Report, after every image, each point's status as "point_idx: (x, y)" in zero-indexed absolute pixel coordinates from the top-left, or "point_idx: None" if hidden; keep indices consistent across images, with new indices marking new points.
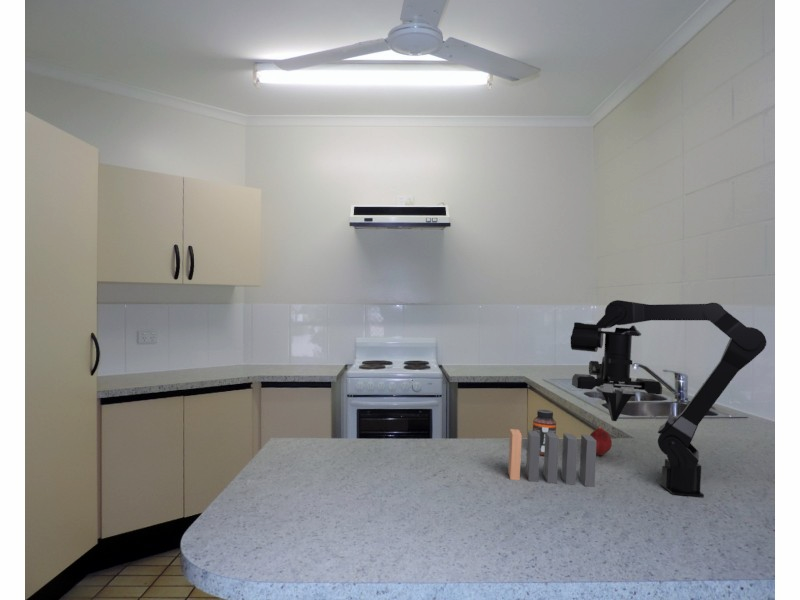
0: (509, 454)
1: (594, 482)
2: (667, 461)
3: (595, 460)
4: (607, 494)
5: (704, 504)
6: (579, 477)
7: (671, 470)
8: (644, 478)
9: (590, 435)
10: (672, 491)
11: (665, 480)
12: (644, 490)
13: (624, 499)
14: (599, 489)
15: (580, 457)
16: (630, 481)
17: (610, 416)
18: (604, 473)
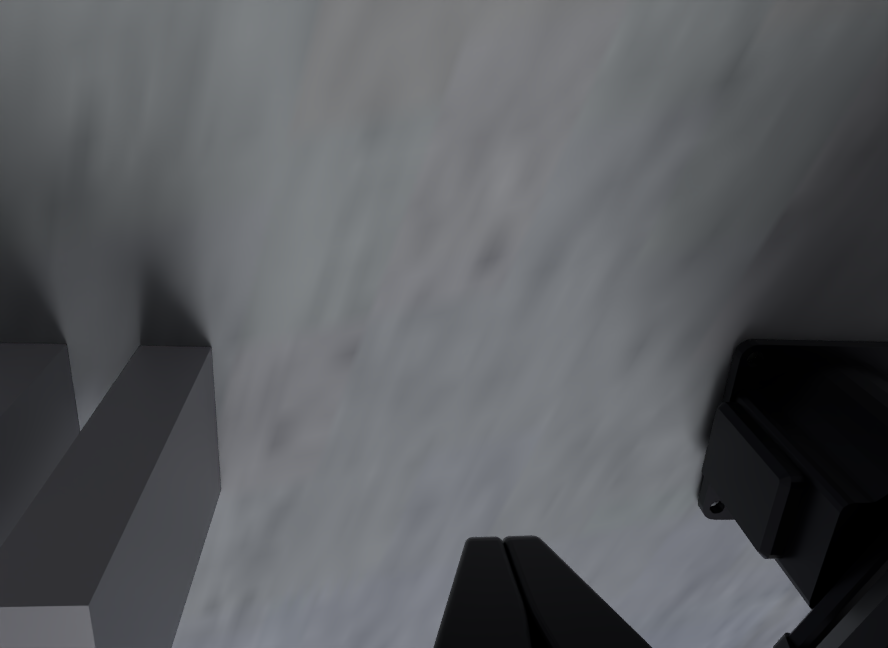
0: None
1: (213, 509)
2: (822, 552)
3: (174, 631)
4: (275, 584)
5: (791, 592)
6: (137, 351)
7: (782, 569)
8: (693, 220)
9: (86, 615)
10: (709, 506)
11: (723, 485)
12: (552, 470)
13: (355, 628)
14: (245, 520)
15: (77, 441)
16: (538, 318)
17: (455, 579)
18: (393, 164)
